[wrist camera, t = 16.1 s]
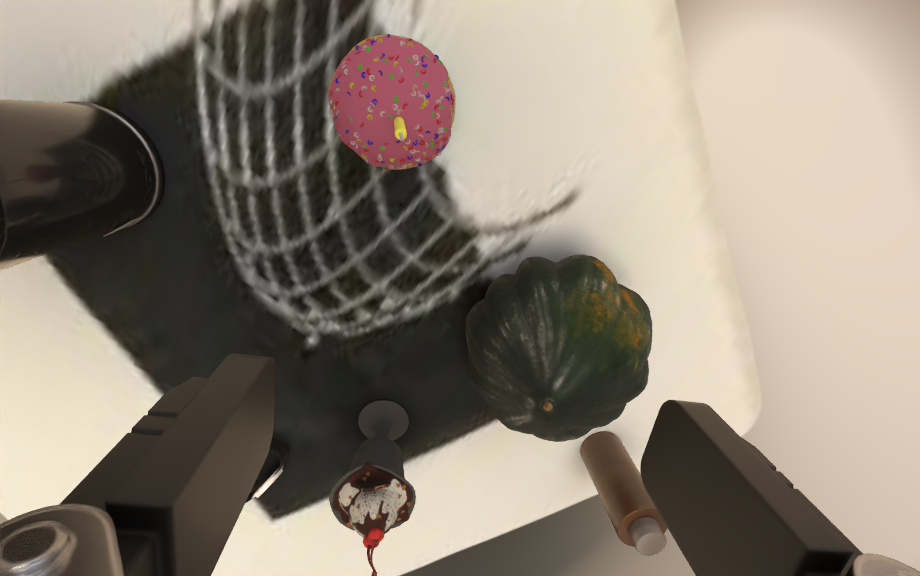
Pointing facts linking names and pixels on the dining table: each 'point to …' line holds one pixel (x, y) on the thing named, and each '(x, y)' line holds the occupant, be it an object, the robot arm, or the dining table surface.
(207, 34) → the dining table surface
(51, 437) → the dining table surface
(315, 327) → the dining table surface
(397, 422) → the sundae
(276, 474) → the watch
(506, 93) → the dining table surface
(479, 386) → the squash
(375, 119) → the cupcake
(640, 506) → the pepper mill
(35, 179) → the robot arm
